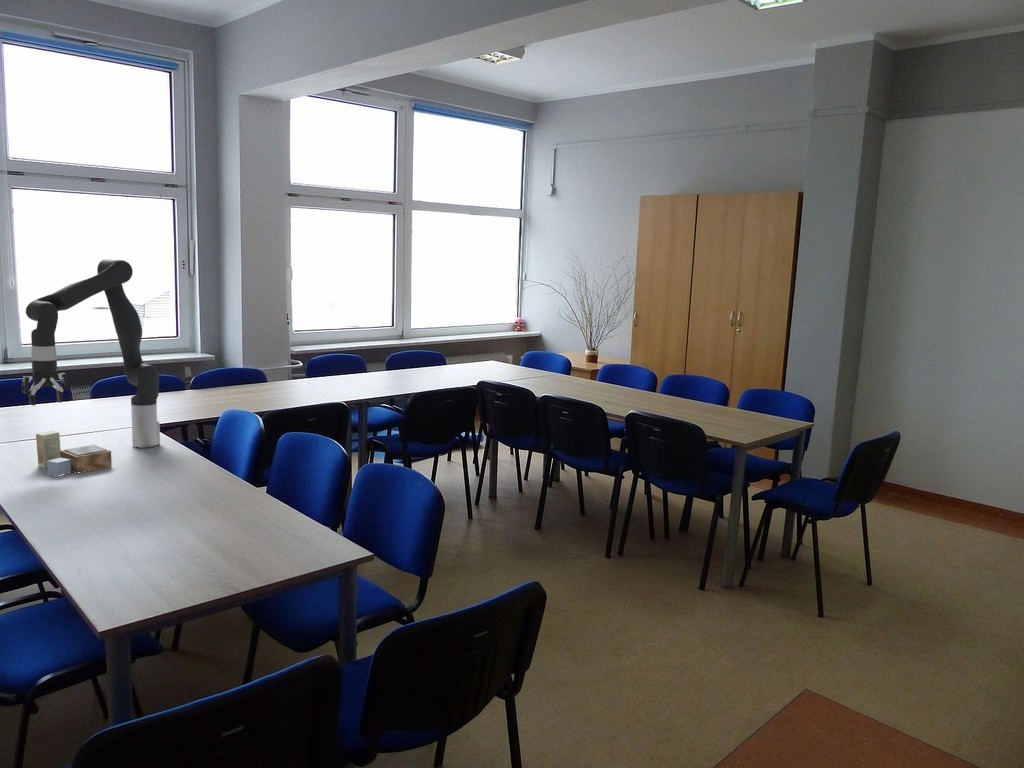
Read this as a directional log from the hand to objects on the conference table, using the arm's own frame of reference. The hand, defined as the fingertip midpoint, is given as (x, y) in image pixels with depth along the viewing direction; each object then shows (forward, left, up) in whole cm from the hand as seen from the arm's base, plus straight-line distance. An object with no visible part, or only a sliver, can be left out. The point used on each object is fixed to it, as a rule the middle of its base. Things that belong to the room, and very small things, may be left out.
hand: (46, 403), depth 267 cm
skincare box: (0, 0, -23) cm, 23 cm away
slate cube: (+2, +12, -23) cm, 26 cm away
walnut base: (-8, +10, -23) cm, 26 cm away
